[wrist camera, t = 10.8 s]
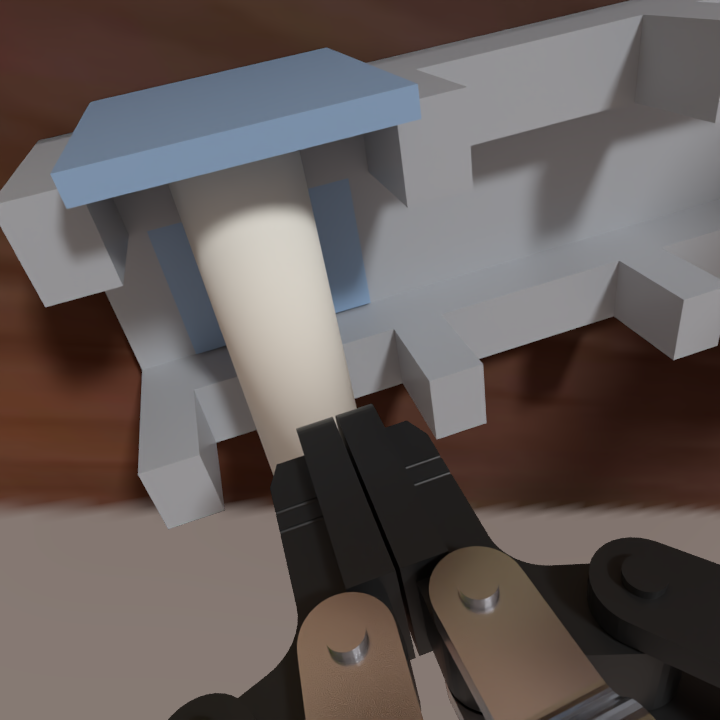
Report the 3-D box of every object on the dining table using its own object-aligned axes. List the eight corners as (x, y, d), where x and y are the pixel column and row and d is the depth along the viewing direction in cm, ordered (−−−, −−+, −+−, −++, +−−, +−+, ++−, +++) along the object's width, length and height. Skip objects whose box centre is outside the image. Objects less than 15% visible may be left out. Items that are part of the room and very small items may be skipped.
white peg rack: (27, 116, 15) (-53, 199, 9) (861, -76, 18) (1172, -101, 13) (166, 411, 21) (169, 573, 15) (782, 222, 24) (973, 295, 19)
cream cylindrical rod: (167, 128, 14) (142, 165, 12) (291, 102, 14) (292, 134, 11) (272, 435, 20) (271, 503, 17) (360, 417, 20) (371, 483, 17)
